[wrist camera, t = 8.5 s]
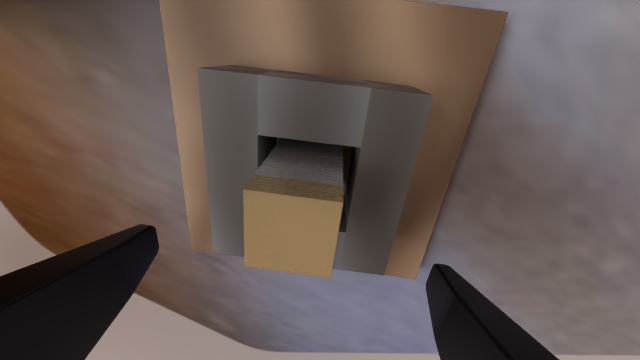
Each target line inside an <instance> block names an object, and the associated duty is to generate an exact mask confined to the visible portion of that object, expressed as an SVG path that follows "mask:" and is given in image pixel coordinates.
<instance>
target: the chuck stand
mask: <svg viewBox="0 0 640 360" xmlns="http://www.w3.org/2000/svg"><path fill="white" fill-rule="evenodd" d="M159 4H160V12H161V19H162V27H163V35H164V42H165V50H166V58H167V65H168V73H169V80H170V88H171V96H172V103H173V111H174V119H175V126H176V134H177V141H178V149H179V157H180V164H181V172H182V180H183V187H184V195H185V202H186V210H187V218H188V225H189V233H190V241H191V248H192V249H194V250H202V251H209V252H213V253H220V254H228V255H235V256H243V257H244V209H243V189H244V188H245V186H246V185H247V184H248V182H249V181H250V180H251V178H252V177H253V175H254V174H255V173H256V171H257V170H258V169H259V167H260V166H261V165H262V163H263V162H264V160H265V159H266V158H267V156H268V155H269V154H270V152H271V151H272V150H273V148H274V147H275V145H276V144H277V143H278V141H279V140H280V139H281V138H286V139H295V140H303V141H311V142H319V143H327V144H336V145H343V208H342V214H341V219H340V225H339V231H338V237H337V243H336V249H335V255H334V260H333V266H332V268H333V269H341V270H348V271H356V272H363V273H371V274H379V275H391V276H398V277H406V278H413V279H416V277H417V274H418V271H419V268H420V265H421V262H422V259H423V257H424V254H425V251H426V248H427V245H428V242H429V239H430V236H431V234H432V231H433V228H434V225H435V222H436V219H437V216H438V213H439V211H440V208H441V205H442V202H443V199H444V196H445V193H446V190H447V187H448V185H449V182H450V179H451V176H452V173H453V170H454V167H455V164H456V162H457V159H458V156H459V153H460V150H461V147H462V144H463V141H464V138H465V136H466V133H467V130H468V127H469V124H470V121H471V118H472V115H473V113H474V110H475V107H476V104H477V101H478V98H479V95H480V92H481V89H482V87H483V84H484V81H485V78H486V75H487V72H488V69H489V66H490V64H491V61H492V58H493V55H494V52H495V49H496V46H497V43H498V41H499V38H500V35H501V32H502V29H503V26H504V23H505V20H506V17H507V15H508V12H503V11H494V10H485V9H475V8H466V7H457V6H448V5H439V4H430V3H421V2H411V1H402V0H159Z"/></svg>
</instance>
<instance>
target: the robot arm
mask: <svg viewBox="0 0 640 360" xmlns="http://www.w3.org/2000/svg"><path fill="white" fill-rule="evenodd" d="M158 250H159V243H158V238H157V233H156V229H155V227H154V226H152V225H145V224H139V225H136V226H134V227H131V228H128V229H126V230H123V231H120V232H118V233H115V234H112V235H110V236H107V237H104V238H102V239H99V240H96V241H94V242H91V243H88V244H86V245H83V246H80V247H78V248H75V249H72V250H70V251H67V252H64V253H62V254H59V255H56V256H54V257H51V258H48V259H46V260H43V261H40V262H37V263H35V264H32V265H29V266H27V267H24V268H21V269H19V270H16V271H13V272H11V273H8V274H5V275H3V276H0V360H85V359H86V357H87V356H88V354H89V353H90V352H91V350H92V349H93V348H94V346H95V345H96V344H97V342H98V341H99V340H100V338H101V337H102V335H103V334H104V333H105V331H106V330H107V329H108V327H109V326H110V324H111V323H112V322H113V321H114V319H115V318H116V316H117V315H118V314H119V312H120V311H121V309H122V308H123V307H124V305H125V304H126V303H127V301H128V300H129V299H130V297H131V296H132V294H133V293H134V291H135V290H136V288H137V286H138V285H139V283H140V281H141V280H142V278H143V276H144V275H145V273H146V271H147V270H148V268H149V266H150V265H151V263H152V261H153V260H154V258H155V256H156V255H157V253H158ZM426 292H427V298H428V304H429V310H430V315H431V321H432V327H433V332H434V337H435V341H436V345H437V349H438V352H439V356H440V359H441V360H559V359H558V358H557V357H555V356H554V355H553V354H552V353H551V352H549V351H548V350H547V349H546V348H545V347H544V346H542V345H541V344H540V343H539V342H538V341H537V340H535V339H534V338H533V337H532V336H531V335H530V334H528V333H527V332H526V331H525V330H524V329H522V328H521V327H520V326H519V325H518V324H517V323H515V322H514V321H513V320H512V319H511V318H510V317H508V316H507V315H506V314H505V313H504V312H503V311H501V310H500V309H499V308H498V307H497V306H495V305H494V304H493V303H492V302H491V301H490V300H488V299H487V298H486V297H485V296H484V295H483V294H481V293H480V292H479V291H478V290H477V289H476V288H474V287H473V286H472V285H471V284H470V283H468V282H467V281H466V280H465V279H464V278H463V277H461V276H460V275H459V274H458V273H457V272H456V271H454V270H453V269H452V268H451V267H450V266H448V265H444V264H434V265H433V267H432V269H431V272H430V274H429V277H428V280H427V283H426Z"/></svg>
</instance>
